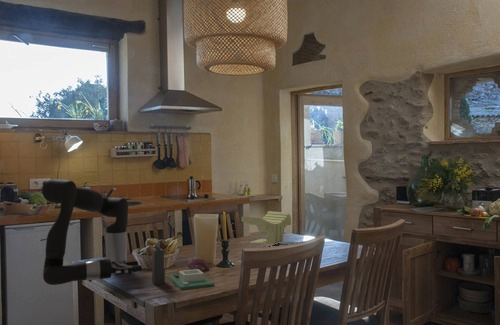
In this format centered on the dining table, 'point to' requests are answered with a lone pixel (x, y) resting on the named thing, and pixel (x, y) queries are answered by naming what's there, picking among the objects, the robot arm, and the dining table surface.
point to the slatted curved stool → (270, 226)
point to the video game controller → (198, 262)
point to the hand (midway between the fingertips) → (139, 265)
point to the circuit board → (190, 279)
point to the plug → (158, 265)
